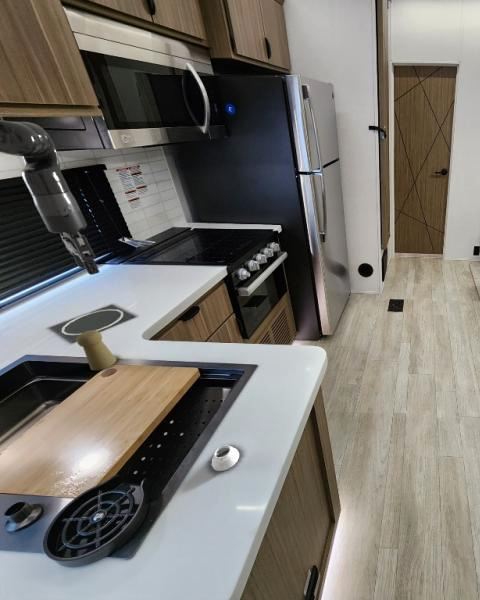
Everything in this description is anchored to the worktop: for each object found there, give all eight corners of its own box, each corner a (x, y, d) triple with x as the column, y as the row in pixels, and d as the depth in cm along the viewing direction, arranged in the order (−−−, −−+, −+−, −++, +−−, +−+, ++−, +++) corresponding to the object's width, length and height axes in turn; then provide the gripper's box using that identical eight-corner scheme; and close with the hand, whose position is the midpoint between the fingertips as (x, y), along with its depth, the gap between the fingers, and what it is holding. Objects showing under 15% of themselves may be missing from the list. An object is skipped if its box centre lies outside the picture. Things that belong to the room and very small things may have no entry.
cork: (120, 362, 96) (104, 331, 91) (95, 374, 92) (76, 342, 87) (112, 355, 99) (96, 325, 94) (87, 366, 95) (68, 335, 90)
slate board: (73, 343, 105) (72, 341, 105) (51, 328, 113) (49, 326, 113) (135, 317, 119) (135, 316, 118) (112, 306, 127) (111, 304, 126)
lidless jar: (217, 477, 65) (243, 460, 68) (213, 467, 64) (239, 451, 67) (209, 460, 68) (234, 445, 71) (205, 451, 67) (230, 436, 70)
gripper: (33, 210, 85) (64, 268, 92) (47, 218, 77) (80, 281, 85) (71, 204, 90) (97, 260, 98) (87, 211, 83) (115, 271, 90)
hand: (89, 270), depth 91 cm, fingers open, 8 cm apart
